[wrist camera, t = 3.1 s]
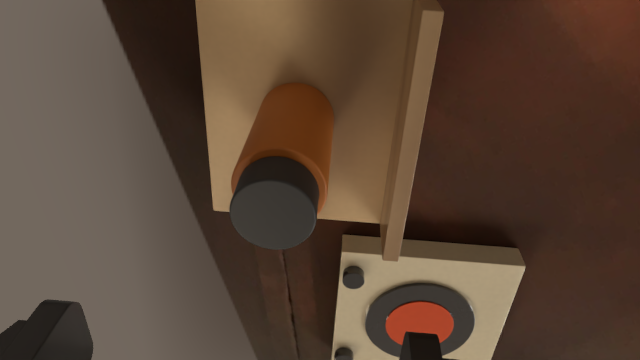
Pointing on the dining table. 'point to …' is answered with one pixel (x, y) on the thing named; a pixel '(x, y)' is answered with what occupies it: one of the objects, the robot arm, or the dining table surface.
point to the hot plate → (422, 297)
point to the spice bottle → (283, 168)
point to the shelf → (326, 92)
